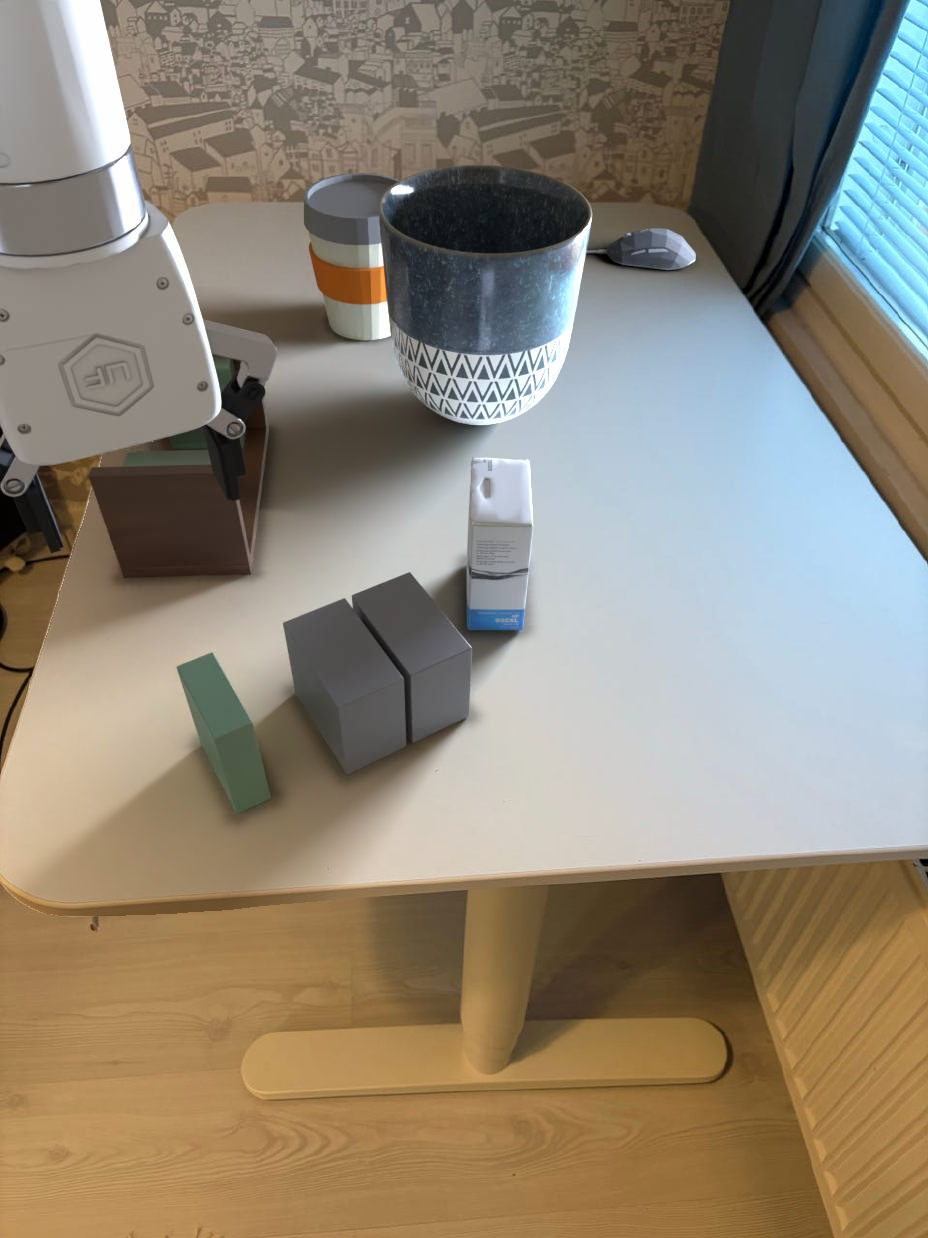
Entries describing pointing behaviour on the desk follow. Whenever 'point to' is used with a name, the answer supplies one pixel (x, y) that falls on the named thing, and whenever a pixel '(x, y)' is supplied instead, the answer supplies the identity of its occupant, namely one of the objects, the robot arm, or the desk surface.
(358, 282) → the reusable coffee cup
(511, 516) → the ink box
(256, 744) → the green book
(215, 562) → the book rack
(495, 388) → the planter
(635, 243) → the gaming mouse
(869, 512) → the desk surface
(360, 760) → the grey blocks
